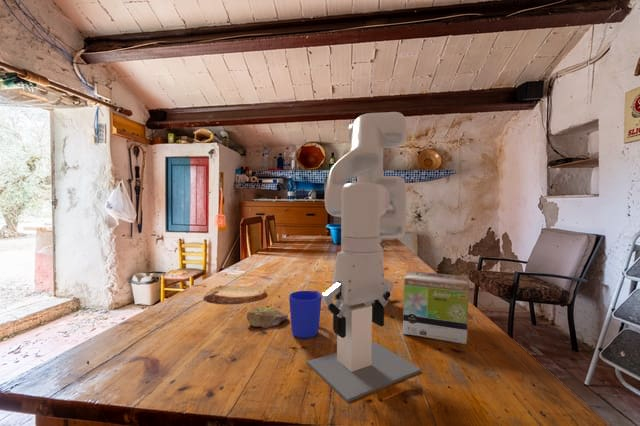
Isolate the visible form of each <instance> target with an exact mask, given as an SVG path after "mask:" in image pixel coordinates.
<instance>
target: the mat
mask: <svg viewBox="0 0 640 426" xmlns="http://www.w3.org/2000/svg"><path fill="white" fill-rule="evenodd" d="M306 365H308V367H310V368H311V369H312V370H313V371H314V372H315V373H316V374H317V375H318V376H319V377H320V378H321V379H322V380H323V381H325V382H326V384H327V385H328V386H329V387H330V388H331V389H333V391H335V392H336V394H338V395H339V396H340V397H341V398H342V399H343V400H344V401H345V402H346V403H349V402H352V401H353V400H356V399H359V398H362V397H363V396H364V397H365V396H367V395H368V394H371V393H373V392H376V391H378V390H381V389H383V388H385V387H388V386H391V385H392V384H394V383H398V382H400V381H401V380H404V379H406V378H410V377H412V376H415V375H417V374H419V373H421V372H422V370H421V368H419V367H418V366H417V365H414V364H413V363H411V362H410V361H407V360H406V359H404V358H402V357H401V356H399V355H398V354H396V353H394V352H392V351H391V350H389V349H387V348H385V347H384V346H382V345H381V344H379V343H377V342H375V341H373V340H372V355H371V365H370V366H367V367H364V368H361V369H358V370H355V371H352V372H351V371H350V370H348V369H347V368H346V367H345V366H344V365H342V364H341V363H340V362H339V361H337V351H335V352H333V353H329V354H326V355H323V356H320V357H317V358H314V359H309V360H308V361H306Z"/></svg>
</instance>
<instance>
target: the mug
mask: <svg viewBox="0 0 640 426" xmlns="http://www.w3.org/2000/svg"><path fill="white" fill-rule="evenodd" d="M321 296H322V294H321V293H320V292H319V291H318V290H298V291H294V292H292V293H290V294H289V296H288V298H289V299H288V300H289V314H290V325H291V328H290V329H291V333H292V335H293V336H294V337H296V338H299V339H312V338H314V337H316V336H317V335H318V333H319V330H320V319H321V318H320V317H321V311H322V297H321Z"/></svg>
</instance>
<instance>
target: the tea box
mask: <svg viewBox="0 0 640 426" xmlns="http://www.w3.org/2000/svg"><path fill="white" fill-rule="evenodd" d="M405 273H406V274H405V277H404V281H403V283H404V284H403V309H402V310H403V311H402V335H411V336H416V337H422V338H429V339H434V340H440V341H445V342H450V343H456V344H460V343H461V345H466V344H467V342H468V341H467V340H468V330H469V329H468V326H469V321H468V320H469V297H470V293H469V292H470V284H469V283H468V281H467V279H466V277H465V275H457V274H446V273H445V274H444V273H434V272H426V271H425V272H424V271H413V270H406V272H405Z"/></svg>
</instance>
